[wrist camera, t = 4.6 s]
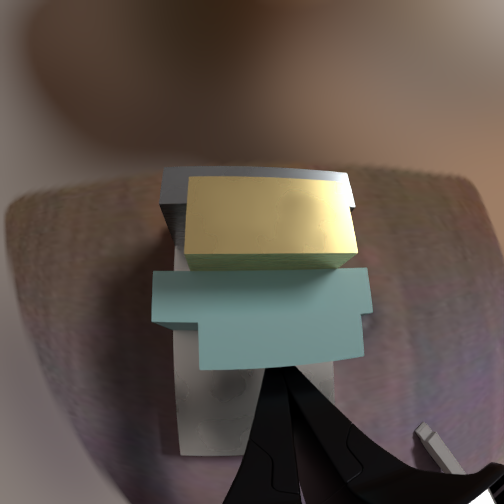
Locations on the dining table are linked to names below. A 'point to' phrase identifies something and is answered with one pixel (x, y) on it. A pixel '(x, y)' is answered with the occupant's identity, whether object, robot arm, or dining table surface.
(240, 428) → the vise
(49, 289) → the dining table surface
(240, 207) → the brass block
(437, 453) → the grey long thin bar
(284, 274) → the block
